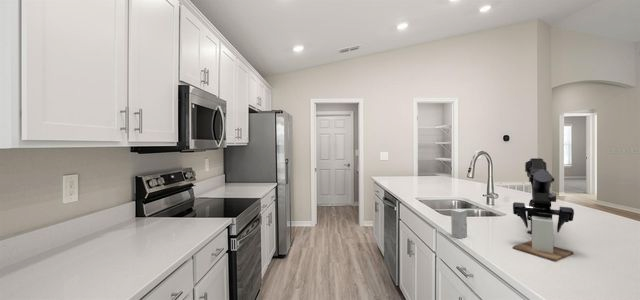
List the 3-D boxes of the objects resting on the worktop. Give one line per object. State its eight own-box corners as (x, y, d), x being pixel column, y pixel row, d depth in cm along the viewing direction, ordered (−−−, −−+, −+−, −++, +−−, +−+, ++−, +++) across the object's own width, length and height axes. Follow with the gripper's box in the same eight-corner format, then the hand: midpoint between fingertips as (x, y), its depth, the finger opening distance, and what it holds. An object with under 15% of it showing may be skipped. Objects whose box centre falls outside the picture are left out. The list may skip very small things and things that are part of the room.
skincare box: (460, 238, 120) (460, 212, 120) (450, 236, 124) (450, 210, 124) (467, 236, 124) (467, 210, 123) (458, 233, 127) (457, 208, 127)
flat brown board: (531, 242, 115) (531, 229, 114) (573, 253, 102) (573, 240, 102) (512, 248, 108) (512, 235, 108) (555, 261, 96) (555, 247, 96)
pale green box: (531, 244, 110) (531, 215, 109) (551, 248, 106) (551, 218, 105) (532, 249, 105) (532, 219, 104) (553, 253, 101) (553, 221, 101)
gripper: (513, 183, 113) (511, 214, 105) (573, 186, 102) (577, 222, 94) (514, 198, 120) (512, 229, 111) (570, 203, 108) (574, 238, 100)
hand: (542, 229), depth 104 cm, fingers open, 9 cm apart
